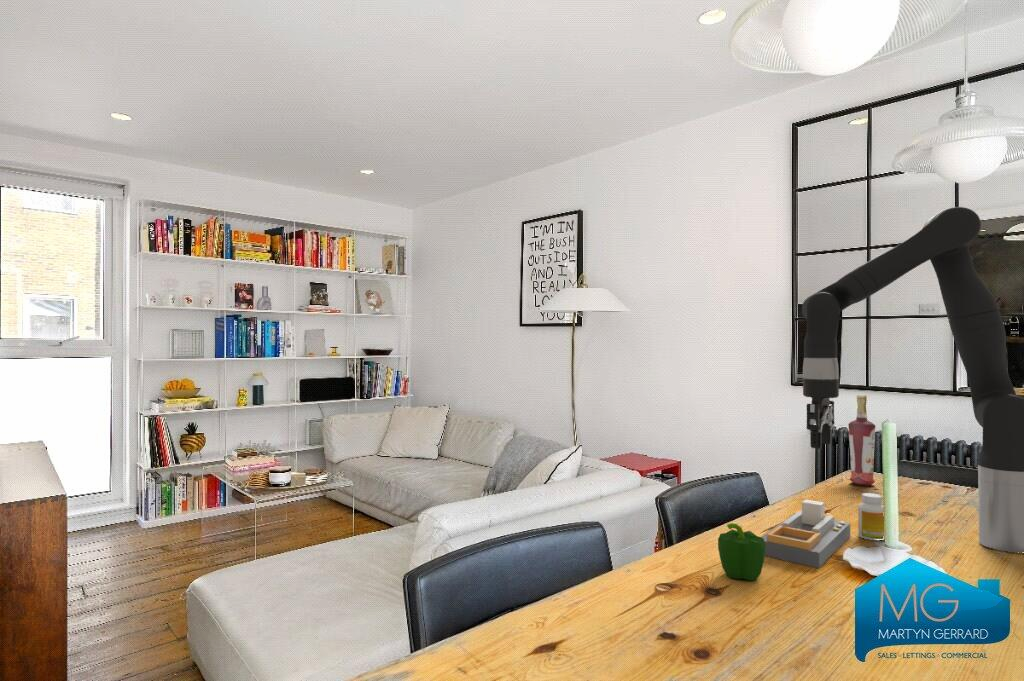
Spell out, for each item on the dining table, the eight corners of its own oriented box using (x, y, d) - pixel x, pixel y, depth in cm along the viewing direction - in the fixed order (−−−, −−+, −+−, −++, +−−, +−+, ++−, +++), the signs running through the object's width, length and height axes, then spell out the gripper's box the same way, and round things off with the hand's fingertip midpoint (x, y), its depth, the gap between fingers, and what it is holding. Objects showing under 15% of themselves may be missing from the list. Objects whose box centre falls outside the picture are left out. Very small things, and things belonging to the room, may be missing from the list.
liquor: (870, 488, 181) (870, 397, 181) (845, 484, 186) (844, 395, 186) (879, 485, 185) (878, 395, 186) (854, 480, 191) (853, 394, 191)
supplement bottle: (891, 541, 132) (891, 498, 132) (867, 541, 132) (866, 498, 132) (877, 534, 137) (876, 492, 137) (853, 534, 137) (853, 492, 137)
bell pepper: (764, 571, 115) (763, 519, 115) (767, 587, 107) (766, 532, 107) (718, 565, 118) (718, 515, 118) (718, 581, 110) (717, 527, 110)
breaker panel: (850, 536, 136) (850, 514, 136) (819, 568, 116) (819, 542, 116) (794, 525, 144) (794, 505, 144) (756, 553, 124) (756, 530, 124)
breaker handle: (824, 523, 134) (824, 502, 134) (821, 526, 132) (821, 505, 132) (805, 520, 137) (805, 499, 137) (801, 523, 135) (801, 502, 135)
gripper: (829, 378, 132) (830, 452, 132) (845, 376, 143) (846, 444, 143) (794, 377, 137) (794, 448, 137) (812, 375, 148) (812, 440, 148)
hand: (821, 445), depth 140 cm, fingers open, 7 cm apart
